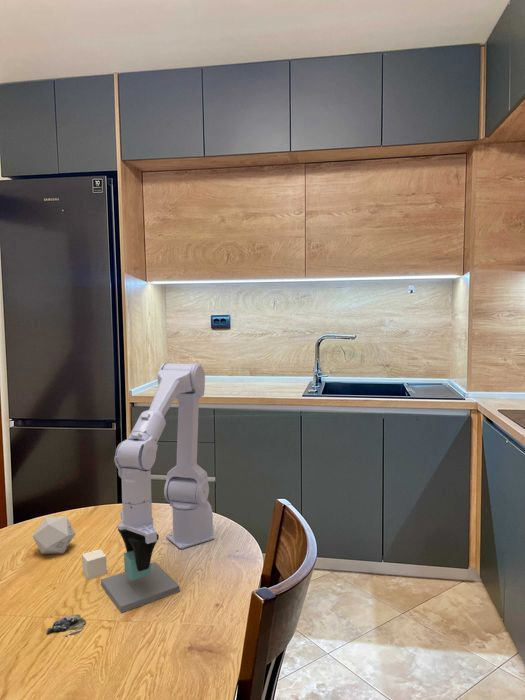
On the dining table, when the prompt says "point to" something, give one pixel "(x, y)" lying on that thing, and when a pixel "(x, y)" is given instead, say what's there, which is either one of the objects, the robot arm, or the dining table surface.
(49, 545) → the die
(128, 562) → the teal cube
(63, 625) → the blueberries
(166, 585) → the plate
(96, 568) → the cream cube
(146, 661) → the dining table surface
